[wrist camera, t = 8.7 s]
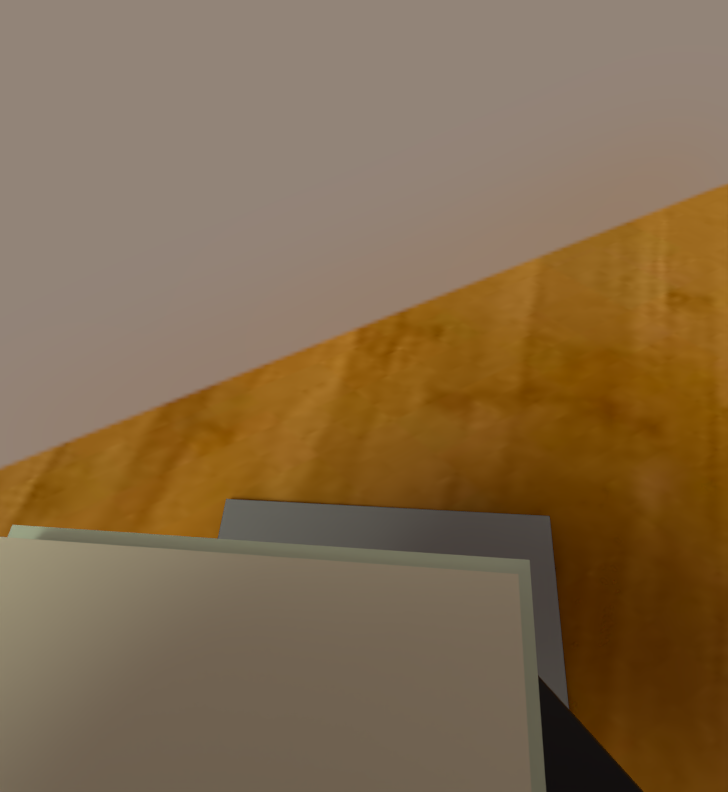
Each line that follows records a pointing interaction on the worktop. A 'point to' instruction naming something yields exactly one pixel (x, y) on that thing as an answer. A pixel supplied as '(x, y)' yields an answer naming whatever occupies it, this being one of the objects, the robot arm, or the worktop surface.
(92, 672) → the tea tin
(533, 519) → the plate
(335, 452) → the worktop surface
